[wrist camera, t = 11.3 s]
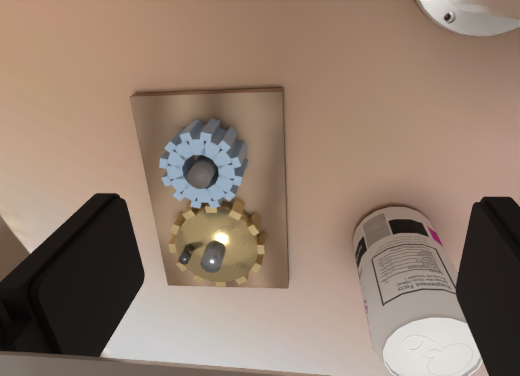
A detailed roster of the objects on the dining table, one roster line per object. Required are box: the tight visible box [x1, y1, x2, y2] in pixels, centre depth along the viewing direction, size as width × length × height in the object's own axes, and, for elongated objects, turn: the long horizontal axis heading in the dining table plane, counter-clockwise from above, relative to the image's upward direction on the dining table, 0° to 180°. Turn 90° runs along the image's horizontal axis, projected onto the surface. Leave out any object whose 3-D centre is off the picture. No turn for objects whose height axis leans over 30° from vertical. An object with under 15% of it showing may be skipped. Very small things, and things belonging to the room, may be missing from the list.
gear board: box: [130, 88, 289, 288], centre depth 38 cm, size 14×22×6 cm, turn 3°
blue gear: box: [159, 118, 248, 209], centre depth 36 cm, size 7×7×4 cm
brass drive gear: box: [168, 198, 267, 287], centre depth 39 cm, size 10×10×5 cm
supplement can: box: [353, 207, 483, 376], centre depth 34 cm, size 8×8×15 cm
